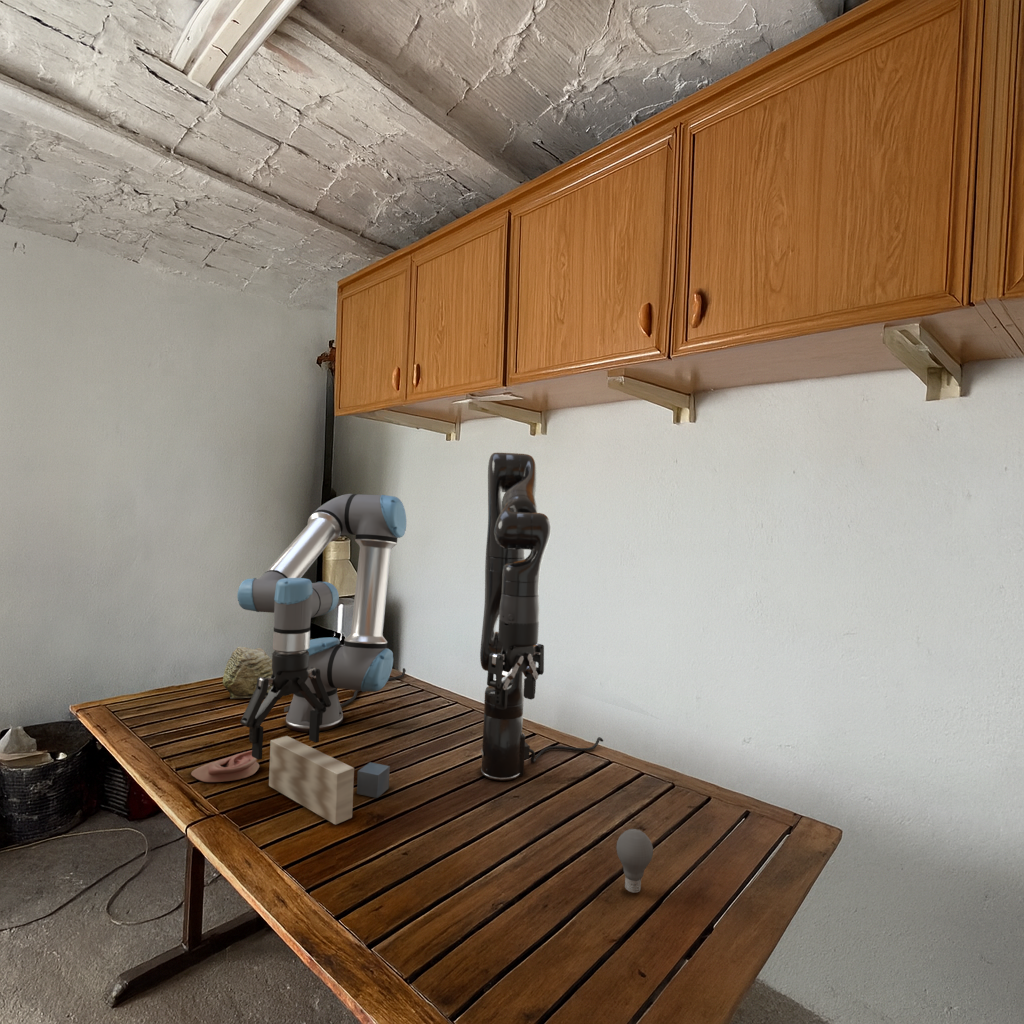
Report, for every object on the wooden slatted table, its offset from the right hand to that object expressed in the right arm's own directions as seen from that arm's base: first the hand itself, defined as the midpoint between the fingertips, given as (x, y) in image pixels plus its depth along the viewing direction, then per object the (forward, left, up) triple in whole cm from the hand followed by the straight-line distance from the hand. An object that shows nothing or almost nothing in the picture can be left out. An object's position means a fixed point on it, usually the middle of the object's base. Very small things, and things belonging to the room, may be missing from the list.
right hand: (515, 703), depth 120 cm
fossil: (+46, -102, -26) cm, 115 cm away
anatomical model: (+51, -45, -26) cm, 73 cm away
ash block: (+35, -26, -26) cm, 51 cm away
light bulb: (-14, +21, -26) cm, 36 cm away
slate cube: (+21, -27, -26) cm, 43 cm away
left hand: (+39, -33, -17) cm, 54 cm away
